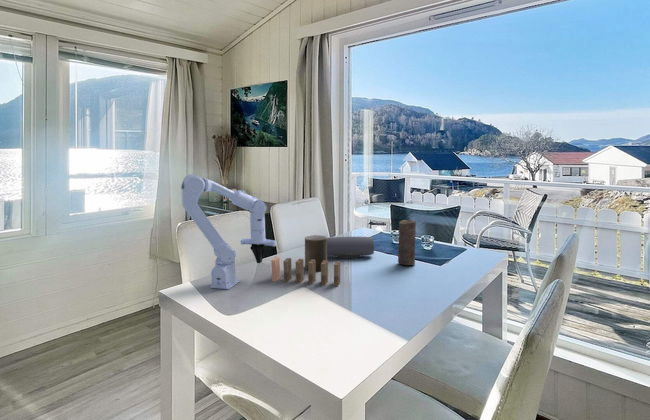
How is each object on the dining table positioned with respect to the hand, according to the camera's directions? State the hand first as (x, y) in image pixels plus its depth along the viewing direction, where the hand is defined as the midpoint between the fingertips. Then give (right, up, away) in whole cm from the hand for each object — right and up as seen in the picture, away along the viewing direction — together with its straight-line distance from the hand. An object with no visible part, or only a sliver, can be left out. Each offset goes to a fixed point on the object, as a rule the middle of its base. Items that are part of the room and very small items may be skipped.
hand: (259, 262), depth 151 cm
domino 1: (+7, -7, -1) cm, 10 cm away
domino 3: (+17, -7, -3) cm, 18 cm away
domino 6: (+31, -7, -7) cm, 33 cm away
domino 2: (+12, -7, -2) cm, 14 cm away
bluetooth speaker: (+38, -2, +28) cm, 47 cm away
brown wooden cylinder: (+63, -3, +16) cm, 65 cm away
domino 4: (+21, -7, -4) cm, 23 cm away
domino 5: (+26, -7, -5) cm, 28 cm away
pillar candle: (+23, -4, +13) cm, 26 cm away
